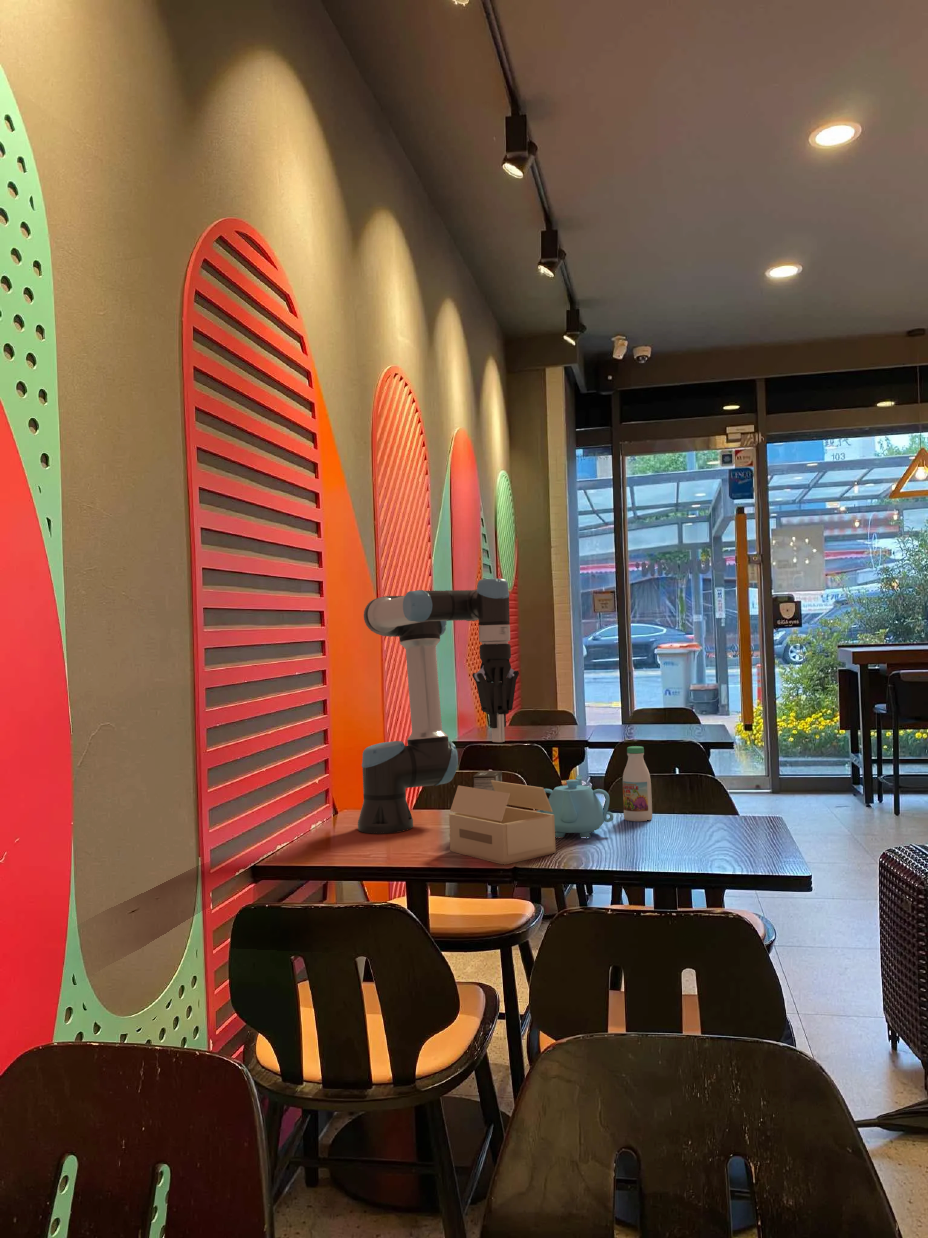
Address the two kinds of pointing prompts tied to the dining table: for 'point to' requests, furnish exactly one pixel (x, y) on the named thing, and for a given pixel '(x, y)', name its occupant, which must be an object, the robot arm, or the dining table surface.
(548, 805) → the far flap
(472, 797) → the near flap
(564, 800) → the teapot
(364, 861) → the dining table surface
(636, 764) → the milk bottle
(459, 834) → the carton
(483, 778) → the coffee box
